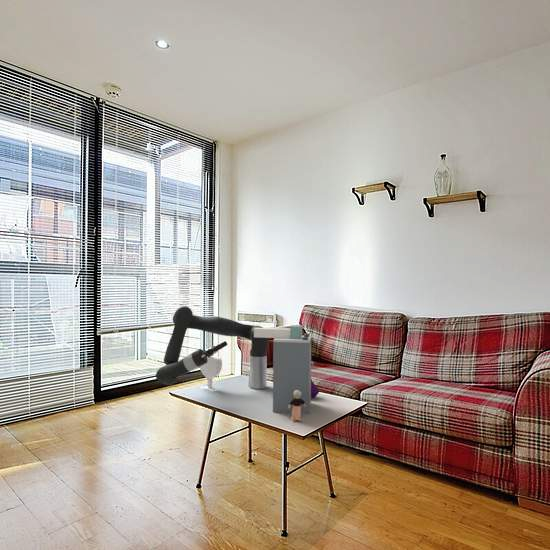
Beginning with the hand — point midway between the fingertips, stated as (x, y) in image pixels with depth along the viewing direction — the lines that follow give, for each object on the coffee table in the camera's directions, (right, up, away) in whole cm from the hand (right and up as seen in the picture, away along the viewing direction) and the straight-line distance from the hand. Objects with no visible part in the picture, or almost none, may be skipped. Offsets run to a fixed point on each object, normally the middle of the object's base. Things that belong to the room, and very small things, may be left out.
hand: (224, 344), depth 192 cm
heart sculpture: (-11, -29, +26) cm, 40 cm away
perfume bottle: (+41, -29, +12) cm, 52 cm away
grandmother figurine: (+33, -28, -23) cm, 49 cm away
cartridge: (+24, +4, -3) cm, 25 cm away
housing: (+32, -28, -5) cm, 43 cm away
